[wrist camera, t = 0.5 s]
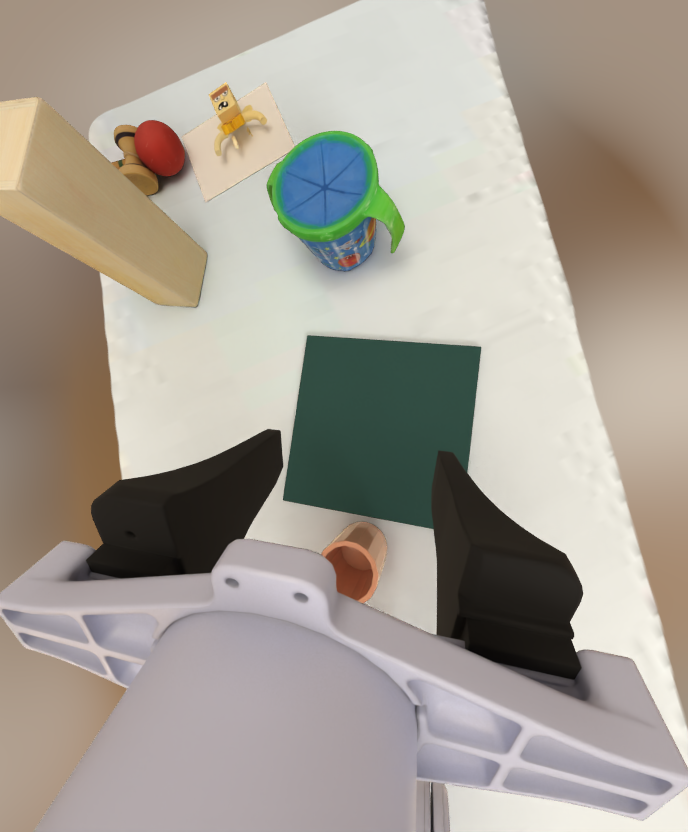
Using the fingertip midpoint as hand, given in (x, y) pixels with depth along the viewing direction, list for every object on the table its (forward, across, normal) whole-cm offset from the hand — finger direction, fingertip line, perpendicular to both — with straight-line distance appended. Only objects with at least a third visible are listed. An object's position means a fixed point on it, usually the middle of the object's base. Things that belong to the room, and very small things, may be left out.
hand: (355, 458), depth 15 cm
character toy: (+43, +25, -20) cm, 54 cm away
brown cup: (+14, +1, +22) cm, 26 cm away
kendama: (+41, +40, -16) cm, 60 cm away
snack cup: (+34, +7, -8) cm, 35 cm away
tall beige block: (+32, +30, -4) cm, 44 cm away
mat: (+21, +1, +10) cm, 24 cm away
